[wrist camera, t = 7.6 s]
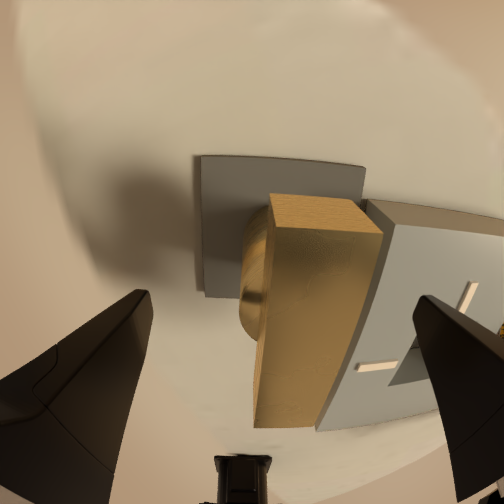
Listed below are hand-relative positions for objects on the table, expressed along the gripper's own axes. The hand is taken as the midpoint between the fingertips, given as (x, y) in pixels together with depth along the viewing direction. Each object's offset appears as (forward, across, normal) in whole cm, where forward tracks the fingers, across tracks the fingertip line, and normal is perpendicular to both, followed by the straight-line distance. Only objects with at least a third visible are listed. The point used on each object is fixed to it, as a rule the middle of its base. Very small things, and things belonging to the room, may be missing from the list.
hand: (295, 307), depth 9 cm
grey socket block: (+5, -10, +6) cm, 13 cm away
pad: (+5, 0, 0) cm, 5 cm away
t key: (+5, 0, 0) cm, 5 cm away
